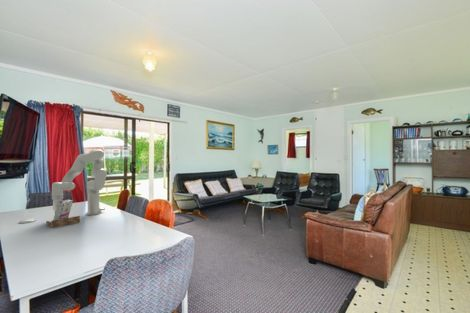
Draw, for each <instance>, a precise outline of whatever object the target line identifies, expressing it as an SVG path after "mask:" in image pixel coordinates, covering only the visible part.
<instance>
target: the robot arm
mask: <svg viewBox="0 0 470 313" xmlns="http://www.w3.org/2000/svg"><path fill="white" fill-rule="evenodd" d="M104 156H105V152H104V151H103V150H102V149H91V150H90V151H89V152H87V153H81V154H79V155H77V157H76V159H75V160H74V162H73V164H72V166H71V168H70V169H69V170H68V171H67V173H65V175H64V176H63V178H62V180H61V182H59V181H56V182H52V184H51V200H52V210H53V211H54V213H55V212H56V209H57V205H58V202H60V201H64V200H63V199H64V191H73V190H74V189H75V188H76V184H75V183H74V182H73V181H74V179H75V178H76V177H77V176H79V175H80V174H82V172H83V170H84V169H85V167H86V166H87V165H86V164H90V163H92V168H91V171H90V177H91V178H93V179H90V180H89V181H87V182H86V191H87V192H86V194H87V212H85V215H86V216H96V215H99V214H101V213H102V211H105V210H106V208H105V207H100V191H101V190H103V189H104V187H105V183H106V179H107V176H108V175H107V170H106V169H104V165H105V164H104V158H103V157H104Z"/></svg>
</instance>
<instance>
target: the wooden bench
mask: <svg viewBox="0 0 470 313" xmlns="http://www.w3.org/2000/svg"><path fill="white" fill-rule="evenodd" d="M80 222H81V216H80V215H77V216H76V215H75V216H69V217H68V218H64V219H58V220H51V221H49V220H46V226H48V227H49V228H57V227H61V226H67V225H71V224H78V223H80Z"/></svg>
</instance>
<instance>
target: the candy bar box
mask: <svg viewBox="0 0 470 313" xmlns="http://www.w3.org/2000/svg"><path fill="white" fill-rule="evenodd" d="M73 202H74V201H73V200H71V199H65V200H63V201H60V202H58V205H57V209H56V212H55V211H54V216H53V220H58V219H64V218H70V213H71V209H72V205H73ZM53 220H52V221H53Z"/></svg>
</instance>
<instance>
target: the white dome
mask: <svg viewBox="0 0 470 313" xmlns="http://www.w3.org/2000/svg"><path fill="white" fill-rule="evenodd" d="M36 221H37V220H36V218H25V219H21V220H19V223H18V224H29V223H34V222H36Z"/></svg>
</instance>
